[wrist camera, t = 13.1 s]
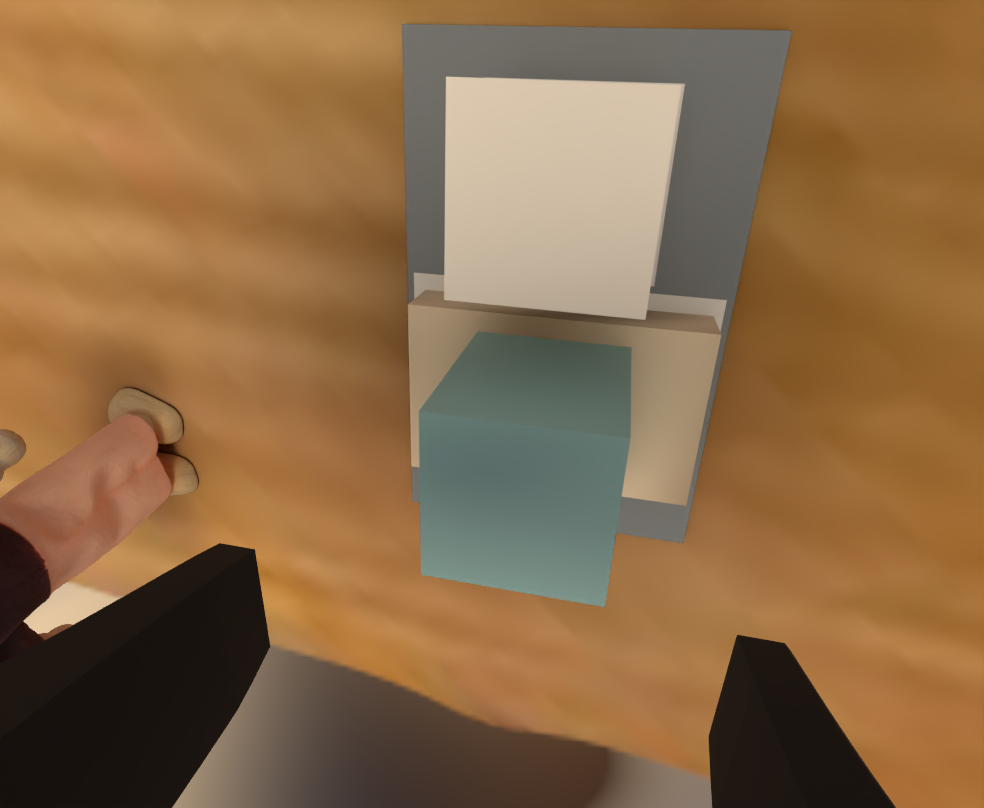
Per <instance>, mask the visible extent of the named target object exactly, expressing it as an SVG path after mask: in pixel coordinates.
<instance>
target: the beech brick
mask: <svg viewBox="0 0 984 808" xmlns="http://www.w3.org/2000/svg"><path fill="white" fill-rule="evenodd" d="M478 331H479V332H489V333H498V334H508V335H518V336H527V337H537V338H546V339H556V340H566V341H575V342H585V343H595V344H604V345H614V346H623V347H632V350H631V435H630V445H629V451H628V458H627V465H626V471H625V478H624V484H623V491H622V497H628V498H635V499H642V500H649V501H656V502H663V503H670V504H677V505H684V506H686V504H687V499H688V495H689V490H690V485H691V480H692V475H693V470H694V465H695V461H696V456H697V451H698V446H699V441H700V436H701V432H702V427H703V422H704V417H705V412H706V407H707V402H708V398H709V393H710V388H711V383H712V378H713V373H714V368H715V364H716V359H717V354H718V349H719V344H720V339H721V333H720V330H719V328H718V325H717V323H716V320H715V318H714V316H706V315H696V314H685V313H674V312H663V311H652V310H647V313H646V319H645V320H641V319H631V318H621V317H611V316H601V315H591V314H581V313H571V312H561V311H551V310H541V309H531V308H521V307H511V306H501V305H491V304H481V303H471V302H461V301H451V300H444V291H435V290H425V291H424V292H422V293H421V294H420V295H419V296H418V297H416V298H415V299H414V300H413V301H411V302H410V303H409V304H408V336H409V380H410V424H411V466H413V467H420V465H419V410H420V409H421V408H422V406H423V405H424V403H425V402H426V401H427V399H428V398H429V397H430V395H431V394H432V393H433V391H434V390H435V389H436V387H437V386H438V384H439V383H440V382H441V380H442V379H443V378H444V376H445V375H446V374H447V372H448V371H449V370H450V368H451V367H452V365H453V364H454V363H455V361H456V360H457V359H458V357H459V356H460V355H461V353H462V352H463V351H464V349H465V348H466V346H467V345H468V344H469V342H470V341H471V340H472V338H473V337H474V336H475V334H476V333H477V332H478Z"/></svg>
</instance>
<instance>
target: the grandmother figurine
mask: <svg viewBox="0 0 984 808" xmlns="http://www.w3.org/2000/svg"><path fill="white" fill-rule="evenodd" d="M108 419H109V422H110V424H108V425H107V426H105V427H104V428H102V429H101V430H99V431H98V432H96V433H95V434H94V435H92V436H91V437H89V438H88V439H86V440H85V441H84V442H82V443H81V444H80V445H78V446H77V447H75V448H74V449H73V450H71V451H70V452H68V453H66V454H65V455H63V456H62V457H60V458H59V459H57V460H56V461H54V462H53V463H51V464H50V465H48V466H46V467H45V468H43V469H41V470H40V471H38V472H37V473H35V474H34V475H32V476H31V477H29V478H28V479H26V480H25V481H23V482H22V483H20V484H19V485H17V486H16V487H14V488H13V489H12V490H10V491H9V492H8V493H7V494H5V495H4V496H3V497H2V498H1V499H0V664H1V663H2V662H4V661H6V660H8V659H10V658H12V657H14V656H16V655H18V654H20V653H21V652H23V651H25V650H27V649H29V648H31V647H33V646H35V645H37V644H39V643H41V642H42V641H44V640H46V639H48V638H50V637H52V636H54V635H56V634H58V633H60V632H61V631H63V630H65V629H67V628H69V627H71V626H72V625H71V624H65V625H61V626H59V627H57V628H54V629H53V630H51V631H50V632H49V633H42V634H37V633H36V632H35V631H33V630H32V629H30V628H29V627H28V625H27V624H26V623H24V622H23V620H25V619H26V618H27V617H28V616H29V615H30V614H31V613H32V612H33V611H34V610H35V609H36V608H37V607H39V606H40V605H41V604H42V603H44V602H45V601H46V600H47V599H48V598H49V597H50V595H51V594H52V592H53V591H55V590H56V589H58V588H59V587H60V586H62V585H63V584H65V583H66V582H68V581H69V580H71V579H72V578H74V577H75V576H77V575H78V574H80V573H81V572H82V571H84V570H85V569H86V568H88V567H89V566H91V565H92V564H93V563H95V562H96V561H97V560H98V559H99V558H101V557H102V556H103V555H105V554H106V553H107V552H109V551H110V550H111V549H113V548H114V547H116V546H117V545H118V544H119V543H120V542H121V541H122V540H123V539H125V538H126V537H127V536H128V535H129V534H130V533H131V532H132V531H133V530H134V529H135V528H136V527H137V526H138V525H139V524H140V523H141V522H142V521H143V520H145V519H146V518H147V517H148V516H149V515H150V514H151V513H152V512H154V511H155V510H156V509H157V508H158V507H159V506H160V505H162V503H163V502H164V501H165V500H166V499H167V498H168V496H173V495H181V494H187V493H190V492H193V491H194V490H195V489H196V487H197V486H198V479H197V475H196V472H195V470H194V467H193V466H192V465H191V464H190V462H188V461H187V460H186V459H184V458H182V457H180V456H176V455H171V454H166V453H160V452H157V450H158V443H160V444H171V443H174V442H176V441H178V440H179V439H180V438H181V437H182V433H183V425H182V419H181V417H180V415H179V414H178V412H177V411H176V410H175V409H174V408H172V407H171V406H169V405H167V404H166V403H164V402H162V401H160V400H157V399H155V398H153V397H151V396H149V395H147V394H145V393H143V392H141V391H139V390H136V389H132V388H124V389H121V390H119V391H118V392H117V393H116V394H115V395H114V396H113V398H112V399H111V401H110V404H109V407H108ZM25 452H26V444H25V442H24V440H23V439H22V437H21V436H20V435H18V434H16V433H15V432H13V431H10V430H5V429H0V481H1V479H2V478H3V474H4V471H5V470H6V469H7V468H9V467H11V466H13V465H14V464H16V463H17V462H19V461H20V460H21V458H22V457H23V456H24V454H25Z"/></svg>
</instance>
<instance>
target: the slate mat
mask: <svg viewBox="0 0 984 808" xmlns="http://www.w3.org/2000/svg"><path fill="white" fill-rule="evenodd" d="M791 33H792V31H789V30H730V29H670V28H610V27H550V26H490V25H430V24H402V42H403V89H404V135H405V181H406V228H407V274H408V304H409V303H410V302H411V301H413V300H414V299H415V298H416V297H418V296H419V295H420V294H421V293H422V292H424V291H425V290H435V291H444V254H445V134H446V77H472V78H499V79H527V80H554V81H582V82H609V83H636V84H664V85H682V86H681V93H680V99H679V106H678V112H677V119H676V125H675V132H674V138H673V145H672V151H671V158H670V164H669V171H668V177H667V184H666V190H665V196H664V203H663V209H662V216H661V222H660V229H659V235H658V242H657V248H656V255H655V261H654V268H653V274H652V281H651V287H650V294H649V300H648V307H647V310H652V311H663V312H674V313H685V314H696V315H706V316H714V318H715V320H716V323H717V325H718V328H719V330H720V333H721V339H720V344H719V349H718V354H717V359H716V364H715V368H714V373H713V378H712V383H711V388H710V393H709V398H708V402H707V407H706V412H705V417H704V422H703V427H702V432H701V436H700V441H699V446H698V451H697V456H696V461H695V465H694V470H693V475H692V480H691V485H690V490H689V495H688V499H687V504H686V506H684V505H677V504H670V503H663V502H656V501H649V500H642V499H635V498H628V497H621V504H620V510H619V517H618V524H617V530H616V533H619V534H626V535H632V536H639V537H645V538H652V539H658V540H665V541H671V542H678V543H684V538H685V534H686V529H687V524H688V519H689V515H690V510H691V505H692V500H693V496H694V491H695V486H696V482H697V477H698V472H699V467H700V463H701V458H702V453H703V448H704V444H705V439H706V434H707V430H708V425H709V420H710V415H711V411H712V406H713V401H714V397H715V392H716V387H717V382H718V378H719V373H720V368H721V363H722V359H723V354H724V349H725V345H726V340H727V335H728V330H729V326H730V321H731V316H732V311H733V307H734V302H735V297H736V293H737V288H738V283H739V278H740V274H741V269H742V264H743V260H744V255H745V250H746V245H747V241H748V236H749V231H750V226H751V222H752V217H753V212H754V208H755V203H756V198H757V193H758V189H759V184H760V179H761V174H762V170H763V165H764V160H765V156H766V151H767V146H768V141H769V137H770V132H771V127H772V123H773V118H774V113H775V108H776V104H777V99H778V94H779V89H780V85H781V80H782V75H783V71H784V66H785V61H786V56H787V52H788V47H789V42H790V38H791ZM412 501H413V502H419V503H420V467H413V466H412Z"/></svg>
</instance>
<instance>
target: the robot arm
mask: <svg viewBox="0 0 984 808" xmlns="http://www.w3.org/2000/svg"><path fill="white" fill-rule="evenodd" d="M269 648H270V642H269V636H268V630H267V623H266V617H265V611H264V604H263V598H262V592H261V586H260V579H259V573H258V567H257V561H256V554H255V549H249V548H243V547H238V546H232V545H226V544H221V543H219V544H217V545H215V546H214V547H212V548H210V549H208V550H206V551H204V552H202V553H200V554H198V555H196V556H194V557H193V558H191V559H189V560H187V561H185V562H184V563H182V564H180V565H178V566H177V567H175V568H173V569H171V570H169V571H168V572H166V573H164V574H162V575H161V576H159V577H157V578H155V579H154V580H152V581H150V582H148V583H147V584H145V585H143V586H141V587H140V588H138V589H136V590H135V591H133V592H131V593H129V594H127V595H126V596H124V597H122V598H120V599H119V600H117V601H115V602H113V603H112V604H110V605H108V606H106V607H104V608H103V609H101V610H99V611H97V612H96V613H94V614H92V615H90V616H88V617H87V618H85V619H83V620H81V621H80V622H78V623H76V624H74V625H72V626H71V627H69V628H67V629H65V630H63V631H61V632H60V633H58V634H56V635H54V636H52V637H50V638H48V639H46V640H44V641H42V642H41V643H39V644H37V645H35V646H33V647H31V648H29V649H27V650H25V651H23V652H21V653H20V654H18V655H16V656H14V657H12V658H10V659H8V660H6V661H4V662H2V663H1V664H0V808H172V807H173V805H174V804H175V802H176V801H177V800H178V798H179V797H180V795H181V793H182V792H183V791H184V789H185V788H186V786H187V785H188V783H189V782H190V780H191V779H192V777H193V776H194V774H195V773H196V772H197V770H198V768H199V767H200V766H201V764H202V763H203V761H204V760H205V758H206V757H207V755H208V754H209V752H210V751H211V749H212V748H213V746H214V745H215V743H216V742H217V740H218V738H219V737H220V736H221V734H222V733H223V731H224V729H225V728H226V727H227V725H228V724H229V722H230V721H231V719H232V717H233V716H234V714H235V713H236V711H237V710H238V708H239V706H240V704H241V702H242V700H243V699H244V697H245V695H246V693H247V691H248V689H249V687H250V685H251V684H252V682H253V680H254V678H255V676H256V674H257V672H258V670H259V668H260V665H261V664H262V662H263V660H264V658H265V656H266V654H267V652H268V649H269ZM709 753H710V775H711V793H712V808H896V807H895V806H894V804H893V803H892V802H891V800H890V799H889V797H888V796H887V795H886V793H885V792H884V790H883V789H882V787H881V786H880V785H879V783H878V782H877V780H876V779H875V778H874V776H873V775H872V773H871V772H870V771H869V769H868V768H867V766H866V765H865V763H864V762H863V760H862V759H861V757H860V756H859V754H858V753H857V752H856V750H855V749H854V747H853V746H852V744H851V743H850V741H849V740H848V738H847V737H846V735H845V734H844V732H843V731H842V729H841V728H840V726H839V725H838V723H837V722H836V720H835V719H834V717H833V716H832V714H831V713H830V711H829V709H828V708H827V706H826V705H825V703H824V702H823V700H822V699H821V697H820V696H819V694H818V693H817V691H816V689H815V688H814V686H813V685H812V683H811V682H810V680H809V679H808V677H807V675H806V674H805V672H804V671H803V669H802V668H801V666H800V665H799V663H798V661H797V660H796V658H795V657H794V655H793V654H792V652H791V651H790V649H789V648H788V647H787V646H786V644H785V643H780V642H775V641H769V640H764V639H758V638H752V637H747V636H741V635H737V637H736V641H735V644H734V648H733V652H732V655H731V659H730V662H729V666H728V669H727V673H726V676H725V680H724V684H723V687H722V691H721V694H720V698H719V701H718V705H717V709H716V712H715V716H714V719H713V723H712V726H711V730H710V734H709Z"/></svg>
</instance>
